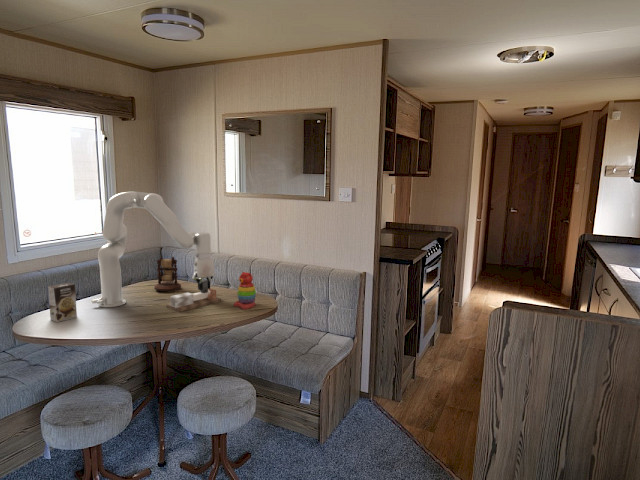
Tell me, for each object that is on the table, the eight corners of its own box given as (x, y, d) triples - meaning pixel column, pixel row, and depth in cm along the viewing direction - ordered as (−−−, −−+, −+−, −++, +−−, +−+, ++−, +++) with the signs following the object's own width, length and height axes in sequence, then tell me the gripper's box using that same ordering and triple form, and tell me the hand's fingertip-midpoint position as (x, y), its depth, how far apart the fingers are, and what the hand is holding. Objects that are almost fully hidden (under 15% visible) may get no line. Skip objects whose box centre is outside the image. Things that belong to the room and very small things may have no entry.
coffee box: (57, 322, 193) (54, 288, 190) (50, 319, 196) (47, 286, 194) (77, 317, 201) (75, 284, 198) (70, 314, 204) (67, 281, 201)
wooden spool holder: (184, 286, 257) (183, 254, 254) (177, 293, 243) (176, 259, 240) (159, 286, 256) (157, 254, 253) (150, 293, 242) (149, 258, 239)
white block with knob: (188, 302, 219) (187, 285, 218) (183, 300, 222) (183, 284, 220) (211, 296, 230) (210, 280, 228) (206, 295, 232) (206, 279, 231)
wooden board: (179, 311, 211) (178, 299, 210) (166, 306, 219) (165, 295, 218) (221, 300, 230) (220, 289, 229) (207, 296, 238) (207, 285, 237)
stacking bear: (232, 305, 223) (231, 272, 221) (247, 301, 231) (247, 269, 228) (244, 310, 216) (244, 276, 213) (260, 305, 223) (260, 272, 220)
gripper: (193, 259, 217) (194, 293, 219) (220, 254, 229) (221, 287, 232) (185, 257, 221) (186, 291, 224) (212, 252, 234) (213, 285, 237)
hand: (204, 288), depth 228 cm, fingers closed on white block with knob, 4 cm apart
